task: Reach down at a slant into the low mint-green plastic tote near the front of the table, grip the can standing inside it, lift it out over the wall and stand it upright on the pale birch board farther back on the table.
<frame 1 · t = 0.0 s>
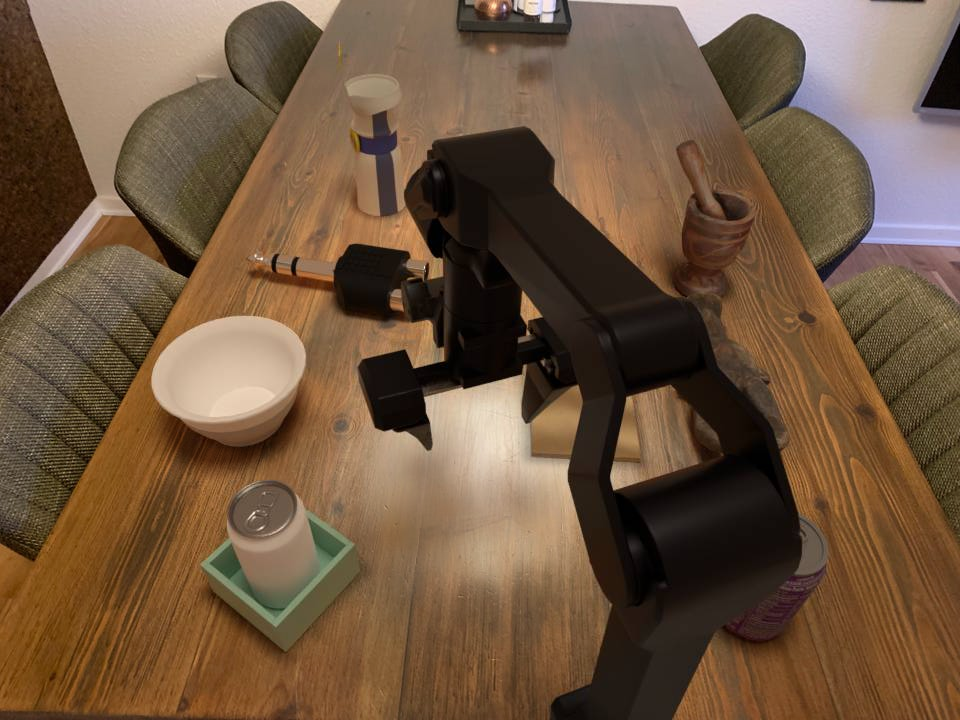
hand: (477, 433, 63), 14 cm above the table, tool pointing down, fingers open, 9 cm apart
water bottle: (381, 204, 113), on the table
mortar and pestle: (686, 283, 101), on the table
tote: (287, 581, 67), on the table
audio adapter: (334, 288, 98), on the table
bowl: (246, 417, 82), on the table
beverage can: (746, 607, 67), on the table
sculpture: (718, 395, 86), on the table
can: (287, 579, 67), resting on tote
board: (581, 411, 83), on the table
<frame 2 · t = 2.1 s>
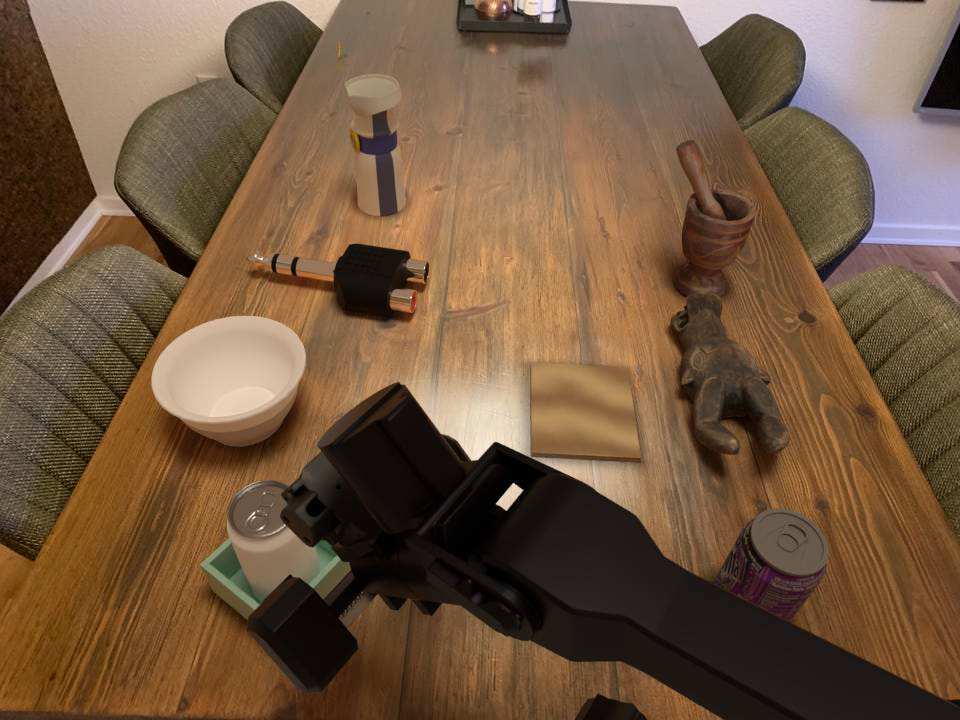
hand: (329, 549, 55), 13 cm above the table, tool tilted 45°, fingers open, 9 cm apart
nothing on the table moved.
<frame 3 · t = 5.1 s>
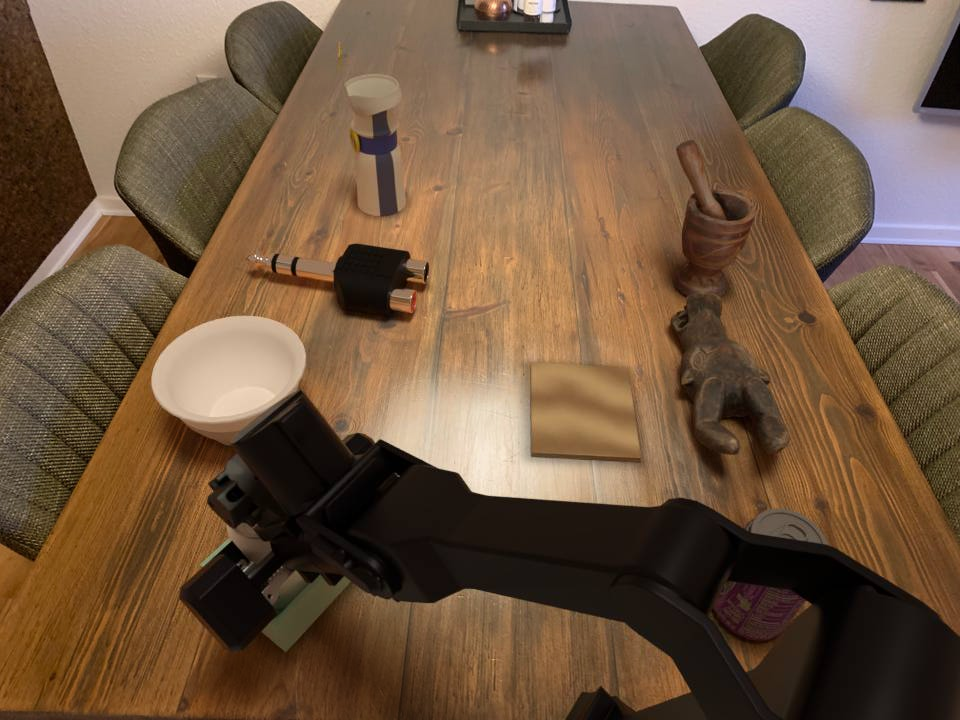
hand: (263, 533, 63), 7 cm above the table, tool tilted 45°, fingers closed on can, 6 cm apart
can: (287, 579, 67), resting on tote, touching gripper
everything else where it was.
when the fingers open (7 cm above the table, at t = 14.3 s): can stays where it is, resting on board.
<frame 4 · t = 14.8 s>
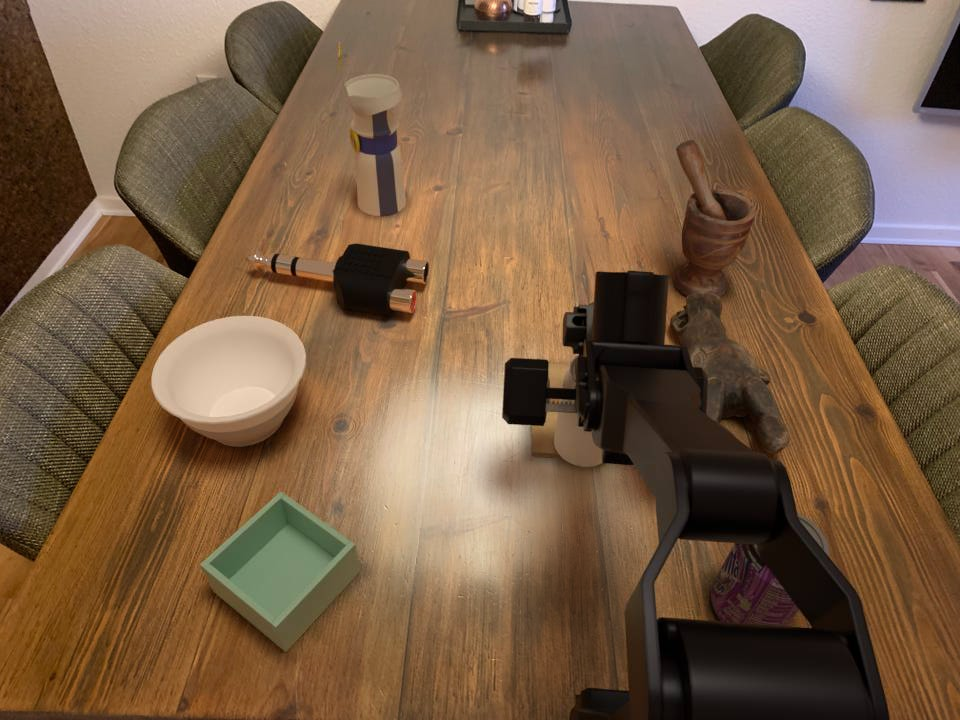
hand: (590, 391, 75), 8 cm above the table, tool tilted 45°, fingers open, 9 cm apart
can: (582, 446, 79), point 1 cm above the table, touching board
everything else where it was.
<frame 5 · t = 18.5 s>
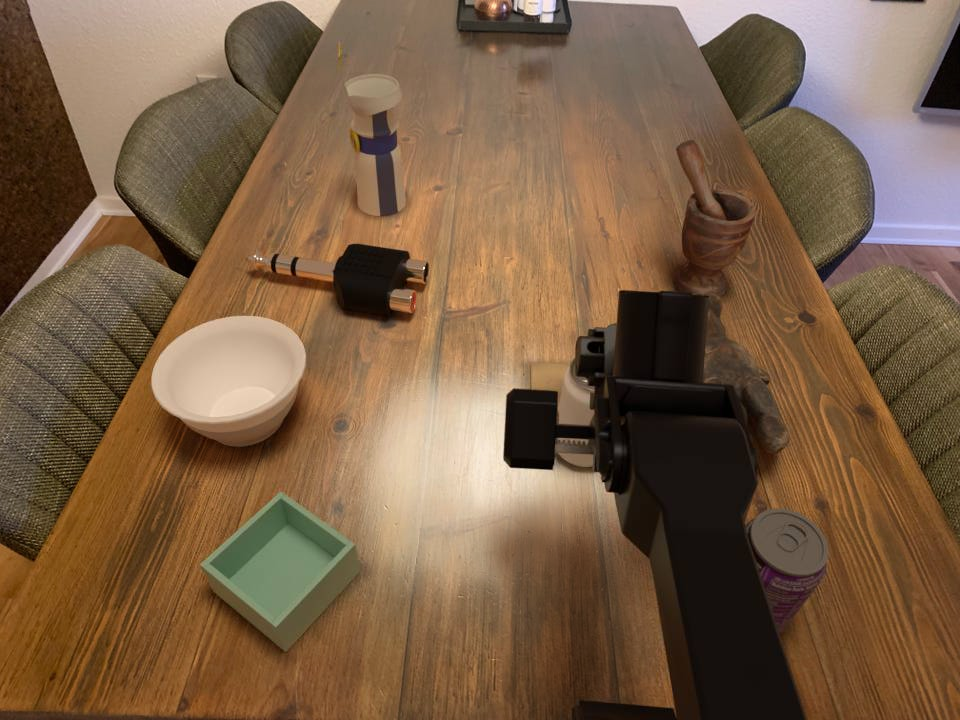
hand: (605, 423, 64), 14 cm above the table, tool tilted 45°, fingers open, 9 cm apart
nothing on the table moved.
at the end: can inside the target area on the board (2.4 cm from its centre), point 0.6 cm above the board's base; can tilted 0°; the gripper is holding nothing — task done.
